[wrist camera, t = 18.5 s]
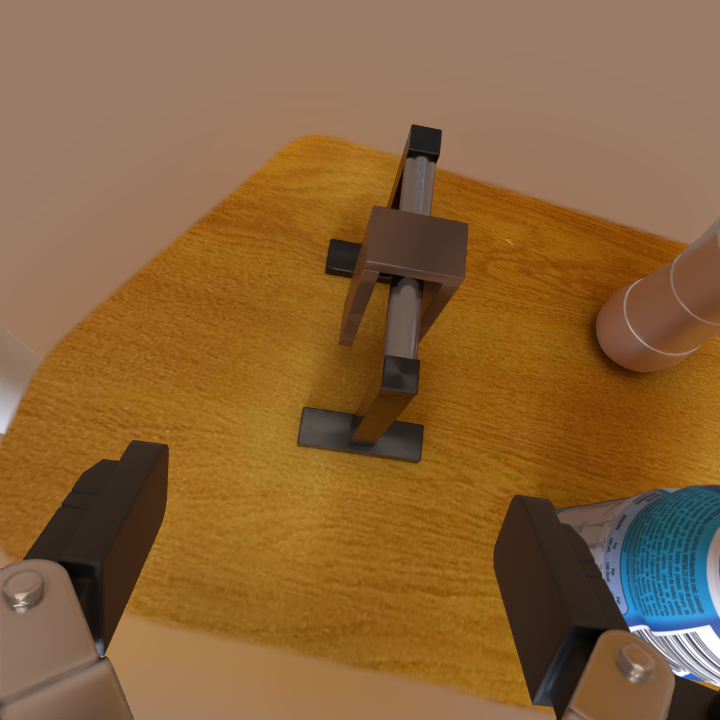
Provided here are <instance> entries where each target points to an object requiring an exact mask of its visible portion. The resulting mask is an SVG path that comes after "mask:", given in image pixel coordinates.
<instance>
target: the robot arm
mask: <svg viewBox="0 0 720 720" xmlns="http://www.w3.org/2000/svg"><path fill="white" fill-rule="evenodd" d="M168 459H169V448H168V445H166V444H159V443H152V442H145V441H138V440H133V441H132V442H131V443H130V444H129V446H128V447H127V449H126V451H125V452H124V454H123V455H122V457H121V459H120V460H119V461H114V460H106V459H103V460H101V461H100V462H98V463H97V464H95V465H94V466H92V467H91V468H89V469H88V470H86V471H85V472H83V474H82V475H81V477H80V478H79V480H78V481H77V483H76V484H75V485H74V487H73V488H72V491H71V493H69V494H68V496H67V497H66V498H65V500H64V501H63V503H62V506H61V507H59V508H58V510H57V511H56V513H55V514H54V516H53V517H52V519H51V520H50V521H49V523H48V524H47V526H46V527H45V529H44V530H43V532H42V533H41V534H40V536H39V537H38V539H37V540H36V542H35V543H34V544H33V546H32V547H31V549H30V550H29V552H28V553H27V555H26V556H25V557H24V559H23V560H22V561H19V562H15V563H13V564H10V565H7V566H6V567H4V568H1V569H0V720H134V718H133V715H132V713H131V710H130V708H129V705H128V703H127V700H126V698H125V695H124V693H123V690H122V688H121V685H120V683H119V680H118V678H117V675H116V672H115V670H114V668H113V666H112V663H111V662H110V660H109V659H108V658H107V657H106V656H105V657H103V658H101V657H100V655H102V656H104V655H105V653H106V650H107V648H108V646H109V643H110V641H111V639H112V636H113V634H114V632H115V630H116V627H117V625H118V623H119V621H120V618H121V616H122V614H123V611H124V609H125V607H126V605H127V602H128V600H129V598H130V595H131V593H132V591H133V589H134V586H135V584H136V582H137V579H138V577H139V575H140V573H141V570H142V568H143V566H144V563H145V561H146V559H147V557H148V554H149V552H150V550H151V547H152V545H153V543H154V541H155V538H156V536H157V534H158V531H159V529H160V527H161V524H162V521H163V517H164V513H165V509H166V502H167V484H168ZM493 560H494V570H495V574H496V578H497V581H498V585H499V588H500V592H501V596H502V599H503V603H504V606H505V610H506V613H507V617H508V620H509V624H510V627H511V631H512V634H513V638H514V641H515V645H516V648H517V652H518V655H519V659H520V663H521V666H522V670H523V673H524V677H525V680H526V684H527V687H528V691H529V694H530V698H531V701H532V705H540V706H549V707H553V708H554V711H555V714H556V718H557V719H556V720H720V689H719V691H715V690H713V689H710V688H708V687H705V686H703V685H700V684H698V683H695V682H693V681H690V680H688V679H685V678H683V677H680V676H678V675H676V674H674V673H673V671H672V669H671V667H670V665H669V663H668V662H667V660H666V659H665V657H664V656H663V655H662V654H661V653H660V652H659V651H658V650H657V649H656V648H655V647H654V646H653V645H652V644H650V643H649V642H648V641H646V640H645V639H643V638H641V637H639V636H637V635H635V634H633V633H631V631H630V629H629V627H628V625H627V623H626V621H625V619H624V617H623V615H622V613H621V611H620V609H619V607H618V605H617V603H616V601H615V599H614V597H613V595H612V593H611V591H610V589H609V587H608V585H607V583H606V581H605V579H602V573H601V571H600V569H599V567H598V565H597V564H596V563H595V559H594V557H593V555H592V553H591V551H590V549H589V547H588V545H587V543H586V541H585V540H584V539H583V538H582V537H581V536H580V535H579V534H578V533H577V532H576V531H575V530H574V529H573V528H572V527H571V526H570V525H569V524H564V523H561V522H560V520H559V518H558V516H557V514H556V512H555V509H554V507H553V505H552V503H551V502H550V500H548V499H543V498H536V497H529V496H522V495H516V496H514V497H513V499H512V501H511V503H510V506H509V509H508V511H507V514H506V517H505V519H504V522H503V525H502V527H501V530H500V533H499V536H498V538H497V541H496V544H495V548H494V558H493Z"/></svg>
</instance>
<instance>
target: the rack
mask: <svg viewBox="0 0 720 720" xmlns="http://www.w3.org/2000/svg"><path fill="white" fill-rule="evenodd" d="M441 135H442V130H439V129H434V128H429V127H424V126H419V125H414V124H413V125H412V126H411V129H410V133H409V135H408V139H407V142H406V146H405V149H404V152H403V155H402V159H401V162H400V165H399V169H398V172H397V175H396V179H395V182H394V185H393V189H392V192H391V195H390V198H389V202H388V205H387V208H391V209H396V210H401V211H406V212H411V213H416V214H422V215H427V216H431V207H432V197H433V187H434V176H435V166H436V163H437V161H438V158H439V155H440V147H441V137H442V136H441ZM361 245H362V244H359V243H353V242H348V241H342V240H336V239H330V245H329V251H328V257H327V263H326V270H325V273H326V274H331V275H337V276H343V277H349V278H352V276H353V273H354V269H355V266H356V262H357V259H358V256H359V252H360V249H361ZM376 282H378V283H384V284H389V285H390V291H389V300H388V308H387V317H386V325H385V334H384V342H383V351H382V359H381V364H380V366H379V368H378V370H377V372H376V374H375V376H374V378H373V380H372V382H371V384H370V386H369V387H368V389H367V391H366V393H365V395H364V397H363V399H362V401H361V403H360V405H359V407H358V409H357V411H356V413H355V414H348V413H342V412H335V411H328V410H322V409H315V408H309V407H303V412H302V418H301V424H300V430H299V436H298V443H297V445H298V446H304V447H311V448H317V449H324V450H331V451H338V452H345V453H351V454H358V455H365V456H372V457H379V458H385V459H392V460H399V461H406V462H413V463H418V462H419V461H421V451H422V440H423V429H424V425H420V424H414V423H407V422H401V421H395V420H396V419H397V417H398V416H399V415H400V414H401V413H402V411H403V410H404V409H405V408H406V407H407V405H408V404H409V403H410V402H411V401H412V399H413V398H414V397H415V396H416V395H417V392H418V382H419V371H420V360H417V353H418V343H419V332H420V322H421V312H422V301H423V291H424V280H421V279H416V278H411V277H405V276H400V275H394V274H389V273H383V272H380V273H379V276H378V278H377V281H376Z"/></svg>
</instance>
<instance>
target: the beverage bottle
mask: <svg viewBox="0 0 720 720" xmlns="http://www.w3.org/2000/svg"><path fill="white" fill-rule="evenodd" d="M555 512H556V514H557V516H558V518H559V520H560V522H561V523H564V524H569V525H570V526H571V527H572V528H573V529H574V530H575V531H576V532H577V533H578V534H579V535H580V536H581V537H582V538H583V539H584V540H585V541H586V543H587V545H588V547H589V549H590V551H591V553H592V555H593V557H594V559H595V563H596V564H597V565H598V567H599V569H600V571H601V573H602V579H605V581H606V583H607V585H608V587H609V589H610V591H611V593H612V595H613V597H614V599H615V601H616V603H617V605H618V607H619V609H620V611H621V613H622V615H623V617H624V619H625V621H626V623H627V625H628V627H629V629H630V631H631V633H633V634H635V635H637V636H639V637H641V638H643V639H645V640H646V641H648V642H649V643H650V644H652V645H653V646H654V647H655V648H656V649H657V650H658V651H659V652H660V653H661V654H662V655H663V656H664V657H665V659H666V660H667V662H668V663H669V665H670V667H671V669H672V671H673V673H674V674H676V675H678V676H680V677H683V678H685V679H689V680H696V681H707V682H709V683H711V684H714V685H717V686H720V485H694V486H689V487H685V488H682V489H681V488H662V489H654V490H649V491H645V492H642V493H639V494H636V495H634V496H632V497H627V498H622V499H616V500H611V501H605V502H600V503H594V504H589V505H583V506H574V507H567V508H562V509H558V510H555Z"/></svg>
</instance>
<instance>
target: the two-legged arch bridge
mask: <svg viewBox="0 0 720 720" xmlns="http://www.w3.org/2000/svg"><path fill="white" fill-rule="evenodd" d="M467 237H468V224H467V223H463V222H458V221H452V220H447V219H442V218H437V217H432V216H427V215H422V214H416V213H411V212H406V211H401V210H396V209H391V208H385V207H380V206H375V205H374V206H373V208H372V212H371V215H370V218H369V222H368V225H367V229H366V232H365V235H364V239H363V242H362V245H361V249H360V252H359V256H358V259H357V262H356V266H355V269H354V273H353V276H352V279H351V283H350V286H349V289H348V293H347V296H346V300H345V304H344V311H343V317H342V324H341V331H340V338H339V345H344V346H351V345H352V343H353V340H354V337H355V335H356V332H357V330H358V327H359V325H360V322H361V319H362V317H363V314H364V312H365V309H366V307H367V304H368V301H369V299H370V296H371V294H372V291H373V289H374V286H375V283H376V281H377V278H378V276H379V273H380V272H383V273H389V274H394V275H400V276H405V277H411V278H416V279H421V280H424V291H423V301H422V312H421V322H420V332H419V343H420V341H421V340H422V338H423V337H424V336H425V334H426V333H427V331H428V330H429V328H430V327H431V326H432V324H433V323H434V321H435V320H436V319H437V317H438V316H439V314H440V313H441V312H442V310H443V309H444V307H445V306H446V304H447V303H448V302H449V300H450V299H451V297H452V296H453V295H454V293H455V292H456V290H457V289H458V287H459V286H460V285H461V283H462V282H463V280H464V279H465V265H466V251H467ZM419 343H418V344H419Z"/></svg>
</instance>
